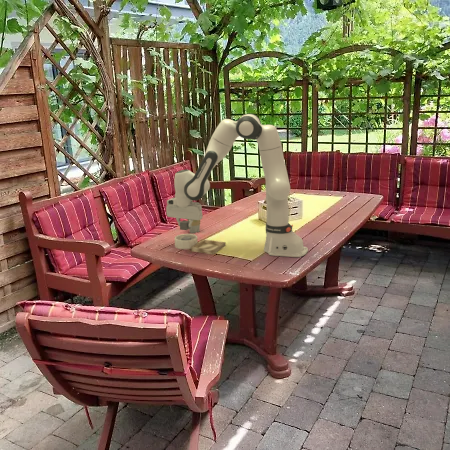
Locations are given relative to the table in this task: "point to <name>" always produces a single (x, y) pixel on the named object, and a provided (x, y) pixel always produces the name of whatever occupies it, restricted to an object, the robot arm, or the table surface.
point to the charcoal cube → (184, 225)
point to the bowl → (185, 241)
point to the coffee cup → (195, 226)
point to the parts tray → (208, 246)
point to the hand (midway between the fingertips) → (184, 226)
